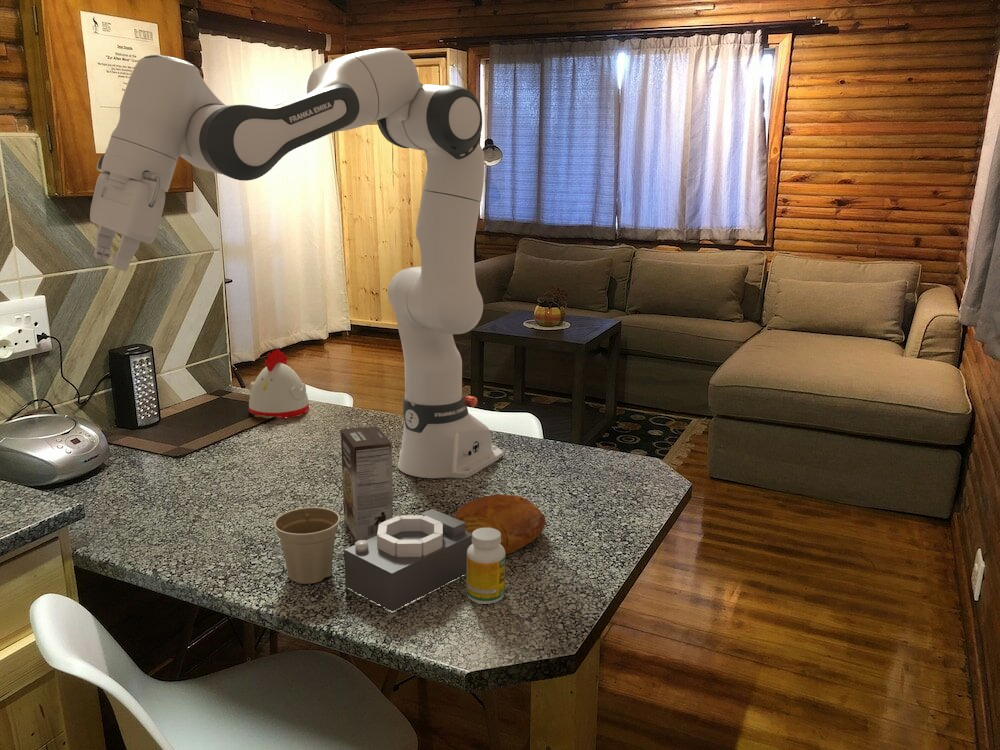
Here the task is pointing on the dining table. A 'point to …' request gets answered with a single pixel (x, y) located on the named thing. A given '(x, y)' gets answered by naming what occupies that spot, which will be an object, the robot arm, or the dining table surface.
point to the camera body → (408, 558)
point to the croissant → (504, 519)
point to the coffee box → (366, 480)
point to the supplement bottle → (485, 566)
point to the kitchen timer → (278, 390)
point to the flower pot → (308, 542)
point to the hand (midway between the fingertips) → (109, 264)
